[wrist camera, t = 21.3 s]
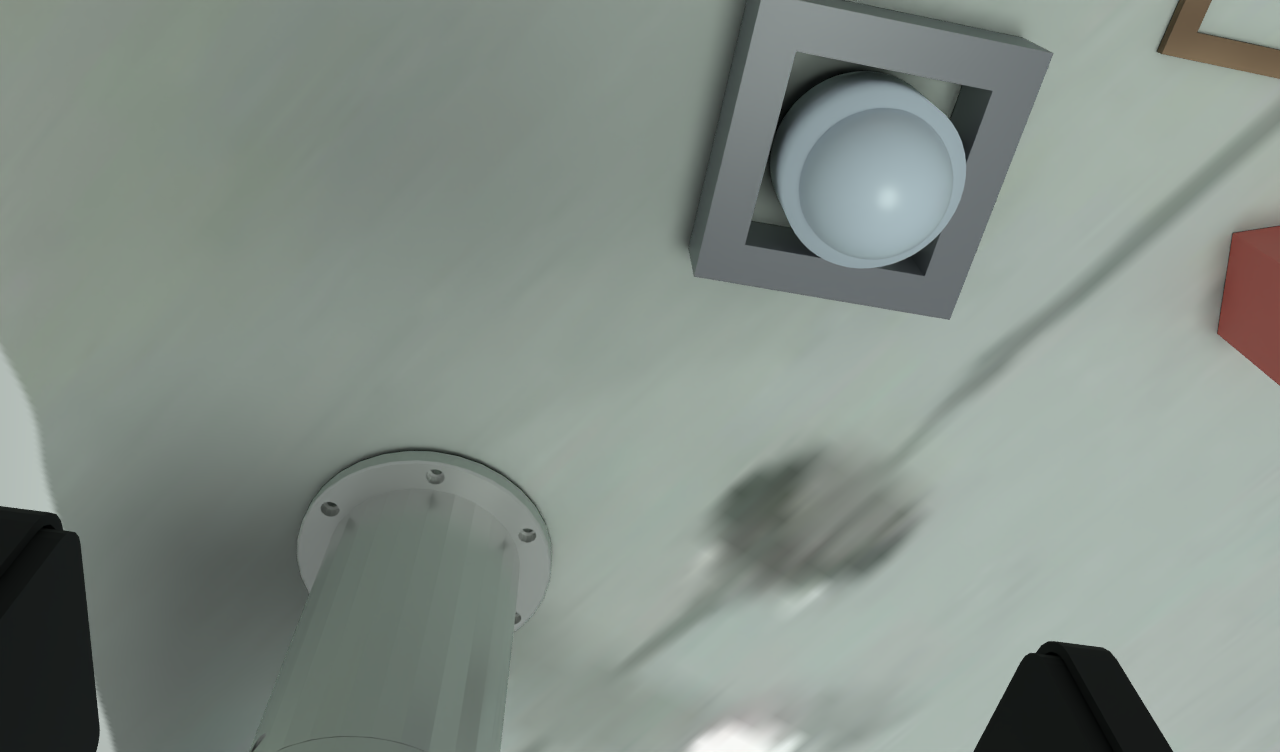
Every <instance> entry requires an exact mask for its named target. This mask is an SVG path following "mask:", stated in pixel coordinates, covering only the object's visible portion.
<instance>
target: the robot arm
mask: <svg viewBox="0 0 1280 752" xmlns="http://www.w3.org/2000/svg"><path fill="white" fill-rule="evenodd" d="M297 561H298V566H299V571H300V575H301V578H302V580H303V582H304V584H305V586H306V588H307V590H308V593H309V597H308V599H307V602H306V605H305V607H304V610H303V612H302V615H301V618H300V620H299V623H298V626H297V628H296V631H295V633H294V636H293V639H292V641H291V644H290V647H289V649H288V652H287V654H286V657H285V660H284V662H283V665H282V667H281V670H280V673H279V675H278V678H277V681H276V683H275V686H274V688H273V691H272V694H271V696H270V699H269V702H268V704H267V707H266V709H265V712H264V715H263V717H262V720H261V722H260V725H259V728H258V730H257V733H256V736H255V738H254V741H253V743H252V746H251V749H250V751H249V752H500V748H501V739H502V730H503V721H504V712H505V703H506V694H507V685H508V676H509V667H510V658H511V649H512V640H513V633H514V632H515V631H517V630H518V629H520V628H521V627H522V626H523V625H524V624H525V623H526V622H527V621H528V620H529V619H530V618H531V617H532V616H533V615H534V614H535V612H536V610H537V609H538V607H539V606H540V604H541V602H542V601H543V599H544V597H545V594H546V591H547V588H548V585H549V582H550V575H551V565H552V553H551V541H550V538H549V534H548V531H547V528H546V524H545V523H544V521H543V519H542V517H541V515H540V514H539V512H538V510H537V508H536V507H535V505H534V504H533V503H532V502H531V501H530V500H529V499H528V497H527V496H526V495H525V494H524V493H523V492H522V491H521V490H520V489H519V488H518V487H517V486H515V485H514V484H513V483H511V482H510V481H509V480H508V479H506V478H505V477H504V476H502V475H500V474H499V473H497V472H495V471H493V470H491V469H489V468H488V467H486V466H484V465H482V464H479V463H476V462H473V461H471V460H468V459H465V458H462V457H459V456H454V455H449V454H443V453H438V452H428V451H404V452H397V453H389V454H383V455H379V456H376V457H373V458H370V459H367V460H363V461H360V462H358V463H356V464H355V465H353V466H351V467H349V468H347V469H345V470H343V471H341V472H340V473H339V474H337V475H336V476H335V477H334V478H333V479H331V480H330V481H329V482H328V483H326V484H325V485H324V486H323V487H322V489H321V490H320V491H319V493H318V494H317V495H316V496H315V498H314V499H313V500H312V502H311V504H310V506H309V508H308V510H307V512H306V514H305V517H304V519H303V521H302V524H301V528H300V531H299V534H298V538H297ZM99 731H100V729H99V718H98V708H97V698H96V688H95V679H94V669H93V660H92V650H91V640H90V631H89V621H88V612H87V602H86V592H85V583H84V573H83V564H82V554H81V544H80V540H79V537H78V535H77V534H76V533H75V532H71V531H63V527H62V523H61V520H60V519H59V517H58V516H57V514H53V513H49V512H41V511H33V510H25V509H18V508H10V507H2V506H0V752H96V750H97V746H98V741H99ZM974 752H1173V751H1172V749H1171V747H1170V746H1169V744H1168V742H1167V741H1166V739H1165V738H1164V736H1163V734H1162V733H1161V731H1160V729H1159V728H1158V726H1157V725H1156V723H1155V721H1154V720H1153V718H1152V716H1151V715H1150V713H1149V711H1148V710H1147V708H1146V707H1145V705H1144V703H1143V702H1142V700H1141V698H1140V697H1139V695H1138V694H1137V692H1136V690H1135V689H1134V687H1133V685H1132V684H1131V682H1130V681H1129V679H1128V677H1127V676H1126V674H1125V672H1124V671H1123V669H1122V668H1121V666H1120V664H1119V663H1118V661H1117V659H1116V658H1115V657H1114V656H1113V655H1112V653H1111V652H1110V651H1108V650H1106V649H1104V648H1102V647H1094V646H1086V645H1079V644H1071V643H1063V642H1055V641H1048V642H1046V643H1045V644H1043V645H1041V647H1040V648H1039V649H1038V651H1037V652H1036V653H1029V654H1028V655H1026V656H1025V657H1024V658H1023V660H1022V661H1021V663H1020V665H1019V666H1018V668H1017V670H1016V672H1015V674H1014V676H1013V678H1012V680H1011V682H1010V683H1009V685H1008V687H1007V689H1006V691H1005V693H1004V695H1003V697H1002V699H1001V700H1000V702H999V704H998V706H997V708H996V710H995V712H994V714H993V716H992V718H991V719H990V721H989V723H988V725H987V727H986V729H985V731H984V733H983V735H982V736H981V738H980V740H979V742H978V744H977V746H976V748H975V750H974Z"/></svg>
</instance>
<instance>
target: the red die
mask: <svg viewBox="0 0 1280 752" xmlns="http://www.w3.org/2000/svg"><path fill="white" fill-rule="evenodd" d="M1217 334H1218V335H1220V336H1221V337H1222V338H1223V339H1224V340H1226V341H1227V342H1228V343H1229V344H1230V345H1232V346H1233V347H1234V348H1235V349H1236V350H1238V351H1239V352H1240V353H1241V354H1242V355H1244V356H1245V357H1246V358H1247V359H1248V360H1250V361H1251V362H1252V363H1253V364H1254V365H1256V366H1257V367H1258V368H1259V369H1260V370H1262V371H1263V372H1264V373H1265V374H1266V375H1268V376H1269V377H1270V378H1271V379H1272V380H1274V381H1275V382H1276V383H1277V384H1278V385H1280V226H1276V227H1269V228H1263V229H1256V230H1250V231H1243V232H1237V233H1233V236H1232V242H1231V249H1230V255H1229V262H1228V268H1227V275H1226V281H1225V288H1224V294H1223V301H1222V307H1221V313H1220V320H1219V326H1218V333H1217Z"/></svg>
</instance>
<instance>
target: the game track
mask: <svg viewBox="0 0 1280 752" xmlns="http://www.w3.org/2000/svg"><path fill="white" fill-rule="evenodd" d="M1211 1H1212V0H1179V3H1178V5H1177V7H1176V9H1175V12H1174V14H1173V16H1172V19H1171V21H1170V23H1169V25H1168V28H1167V30H1166V32H1165V35H1164V37H1163V39H1162V41H1161V44H1160V46H1159V48H1158V50H1157V52H1159V53H1161V54H1165V55H1170V56H1174V57H1179V58H1184V59H1189V60H1193V61H1198V62H1203V63H1208V64H1212V65H1217V66H1222V67H1227V68H1231V69H1236V70H1241V71H1246V72H1250V73H1255V74H1260V75H1265V76H1269V77H1274V78H1279V79H1280V50H1278V49H1274V48H1269V47H1264V46H1260V45H1255V44H1250V43H1246V42H1241V41H1236V40H1232V39H1227V38H1222V37H1218V36H1213V35H1208V34H1204V33H1199V32H1198V29H1199V27H1200V25H1201V23H1202V21H1203V18H1204V16H1205V14H1206V12H1207V10H1208V7H1209V5H1210V3H1211Z"/></svg>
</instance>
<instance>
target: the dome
mask: <svg viewBox="0 0 1280 752" xmlns="http://www.w3.org/2000/svg"><path fill="white" fill-rule="evenodd" d="M770 170H771V178H772V183H773V187H774V190H775V192H776V195H777V197H778V200H779V202H780V204H781V206H782V208H783V210H784V212H785V215H786V217H787V219H788V221H789V223H790V225H791V227H792V229H793V231H794V233H795V234H796V235H797V237H798V238H799V239H800V241H801V242H802V243H803V244H804V245H805V246H806V247H807V248H808V249H809V250H810V251H812V252H813V253H814V254H816V255H817V256H819V257H821V258H823V259H824V260H826V261H829V262H831V263H834V264H836V265H840V266H845V267H850V268H875V267H882V266H886V265H890V264H893V263H896V262H899V261H901V260H904V259H906V258H908V257H910V256H912V255H914V254H915V253H917V252H918V251H920V250H921V249H923V248H924V247H925V246H927V245H928V244H929V243H930V242H931V241H933V240H934V239H935V238H936V237H937V236H938V235H939V234H940V232H941V231H942V230H943V229H944V228H945V226H946V225H947V224H948V222H949V221H950V219H951V218H952V216H953V214H954V213H955V211H956V209H957V206H958V204H959V202H960V200H961V196H962V193H963V190H964V185H965V179H966V159H965V152H964V148H963V144H962V141H961V139H960V136H959V134H958V132H957V130H956V129H955V127H954V125H953V124H952V122H951V121H950V120H949V119H948V118H947V116H946V115H945V114H944V113H943V112H942V111H940V110H939V109H938V108H937V107H936V106H935V105H933V104H932V103H931V102H930V101H929V100H928V99H926V98H925V97H924V96H923V95H922V94H921V93H919V92H918V91H917V90H916V89H915V88H913V87H912V86H911V85H909V84H908V83H906V82H905V81H903V80H901V79H899V78H897V77H894V76H892V75H888V74H885V73H881V72H873V71H857V72H850V73H845V74H841V75H838V76H835V77H832V78H830V79H827V80H825V81H823V82H821V83H820V84H818V85H816V86H814V87H813V88H812V89H810V90H809V91H808V92H806V93H805V94H804V95H803V96H802V97H801V98H800V99H798V100H797V101H796V102H795V104H794V105H793V106H792V107H791V108H790V110H789V111H788V112H787V114H786V115H785V117H784V118H783V120H782V122H781V124H780V126H779V128H778V130H777V132H776V135H775V138H774V141H773V145H772V150H771V159H770Z"/></svg>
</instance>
